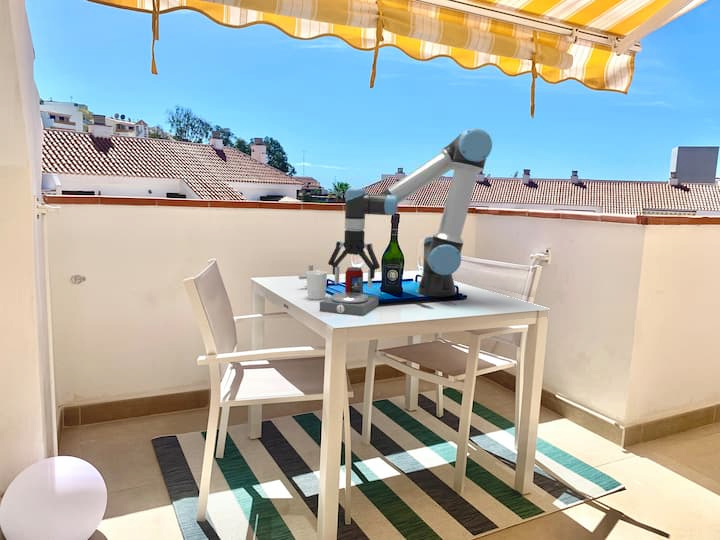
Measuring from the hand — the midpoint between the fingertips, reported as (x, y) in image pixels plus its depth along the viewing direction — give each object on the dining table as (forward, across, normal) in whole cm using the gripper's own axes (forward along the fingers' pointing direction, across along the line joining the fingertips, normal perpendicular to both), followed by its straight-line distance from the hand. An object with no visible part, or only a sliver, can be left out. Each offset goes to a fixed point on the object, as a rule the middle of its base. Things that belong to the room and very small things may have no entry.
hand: (353, 285), depth 190 cm
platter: (+2, -4, +14) cm, 15 cm away
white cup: (+6, +14, +4) cm, 15 cm away
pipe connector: (+6, +24, -11) cm, 27 cm away
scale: (+5, -4, +14) cm, 15 cm away
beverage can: (+6, 0, 0) cm, 6 cm away
